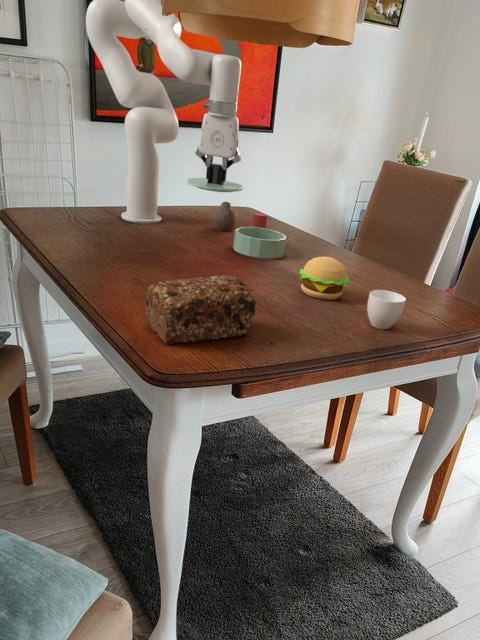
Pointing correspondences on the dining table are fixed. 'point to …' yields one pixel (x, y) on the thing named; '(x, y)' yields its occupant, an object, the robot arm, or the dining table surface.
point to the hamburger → (324, 278)
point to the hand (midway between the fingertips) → (215, 182)
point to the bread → (200, 309)
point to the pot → (259, 242)
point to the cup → (384, 308)
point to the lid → (215, 182)
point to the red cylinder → (259, 220)
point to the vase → (224, 217)
